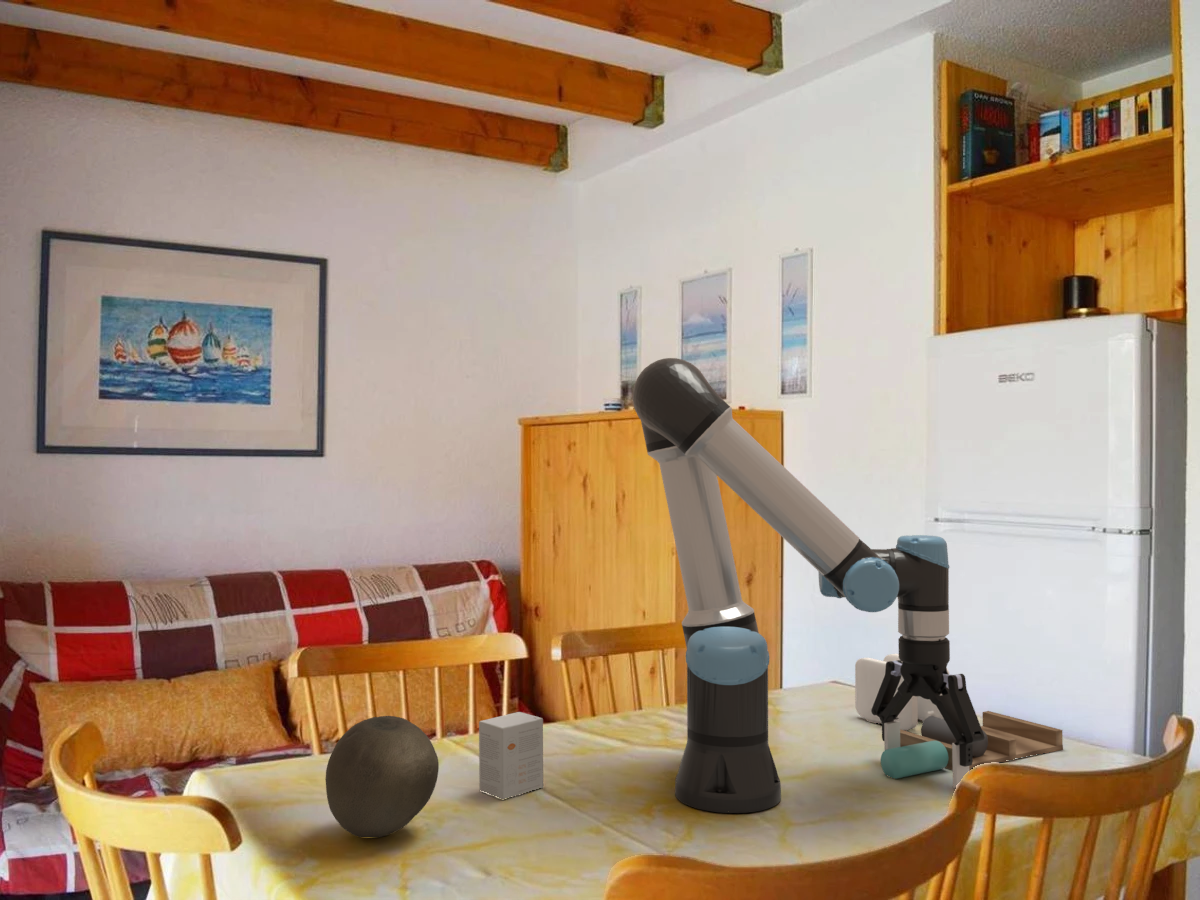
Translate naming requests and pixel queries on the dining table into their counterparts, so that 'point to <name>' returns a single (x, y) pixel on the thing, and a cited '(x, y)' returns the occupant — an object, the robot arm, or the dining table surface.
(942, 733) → the black rod
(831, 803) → the dining table surface
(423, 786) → the dark grey rounded lump
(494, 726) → the small box
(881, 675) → the cable organizer
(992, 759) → the slot board
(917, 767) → the teal rod
